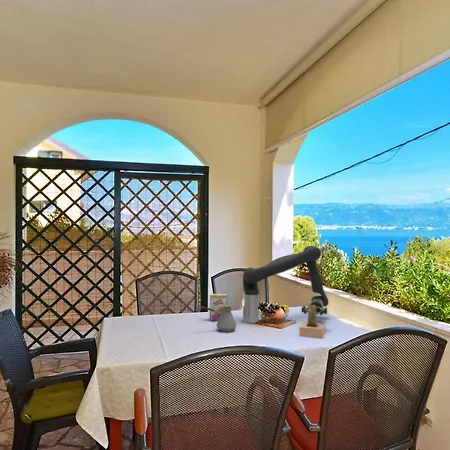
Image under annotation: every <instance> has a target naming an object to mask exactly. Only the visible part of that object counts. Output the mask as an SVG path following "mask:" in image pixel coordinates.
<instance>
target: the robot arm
mask: <svg viewBox="0 0 450 450" xmlns="http://www.w3.org/2000/svg"><path fill="white" fill-rule="evenodd" d="M321 255H322V250H321V249H320V248H319V247H317V246H314V245H308V246H305V247H304V248H303V251H300V252H297V253H292V254H287V255H283V256H280V257H277V258H276V259H274V260H272V261H270V262H269V263H267V264H266V265H264V266H263V265H262V266H260V267H257V268H253V267H248V268H246V269H245V270H244V271H243V274H242V281H243V282H242V285H243V286H242V288H243V302H244V303H243V306H242V310H243V311H242V322H243V323H248V324H257V323H259V322H260V290H259V287H258V283H259V282H262V281H263V280H265V279H267V278H270V277H272V276H275V275H278V274H282V273H284V272H287V271H290V270H292V269H294V268H296V267H298V266H302V265H304V264H306V266H307V270H308V273H309V280H310V285H311V290H312V293H314V294H320V295H315V296H312V297H311V300H310V301H311V303H310V304H309V305H316V316H317V315H319V316H323V315H327V314H328V305H329V298H328V297H327V294H326V293H325V289H324V285H323V279H322V277H321V274H320V272H319V270H318V266H317V260H319V259H320V258H321ZM258 307H259V309H258ZM301 313H303V314H305V315H307V314H308V306H307V307H306V305H303V306H302V307H301ZM258 321H259V322H258ZM256 322H257V323H256Z"/></svg>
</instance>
